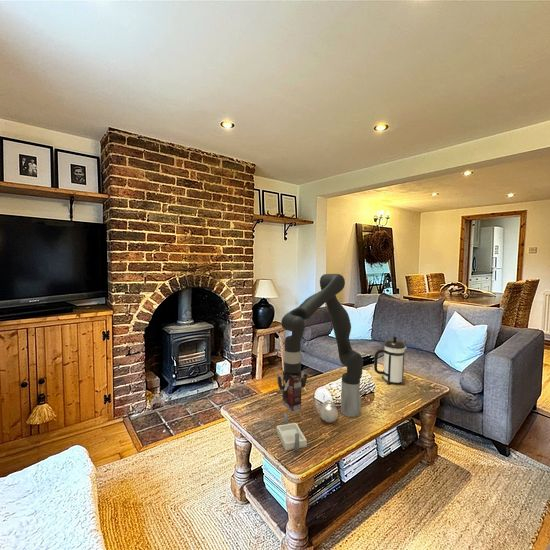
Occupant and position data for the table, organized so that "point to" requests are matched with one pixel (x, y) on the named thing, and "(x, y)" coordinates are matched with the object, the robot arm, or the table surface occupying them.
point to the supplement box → (293, 393)
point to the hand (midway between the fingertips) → (291, 396)
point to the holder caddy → (291, 435)
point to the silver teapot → (329, 411)
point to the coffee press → (392, 360)
